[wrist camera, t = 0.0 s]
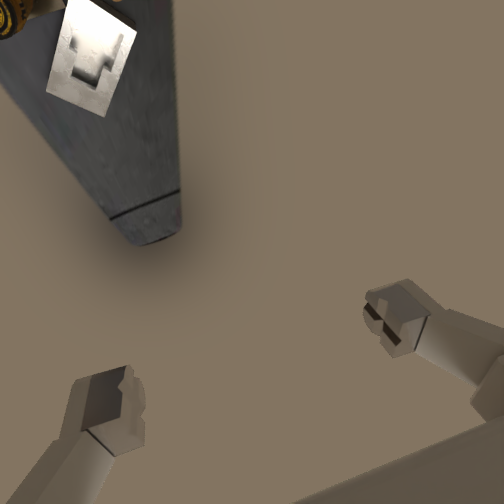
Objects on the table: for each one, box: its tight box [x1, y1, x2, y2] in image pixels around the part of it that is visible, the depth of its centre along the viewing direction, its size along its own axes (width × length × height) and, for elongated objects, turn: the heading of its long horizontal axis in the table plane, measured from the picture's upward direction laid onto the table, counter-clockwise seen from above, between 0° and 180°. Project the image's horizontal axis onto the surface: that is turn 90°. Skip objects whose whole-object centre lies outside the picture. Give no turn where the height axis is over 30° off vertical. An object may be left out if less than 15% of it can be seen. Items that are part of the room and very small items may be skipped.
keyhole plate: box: [46, 0, 137, 117], centre depth 43 cm, size 14×8×4 cm, turn 141°
